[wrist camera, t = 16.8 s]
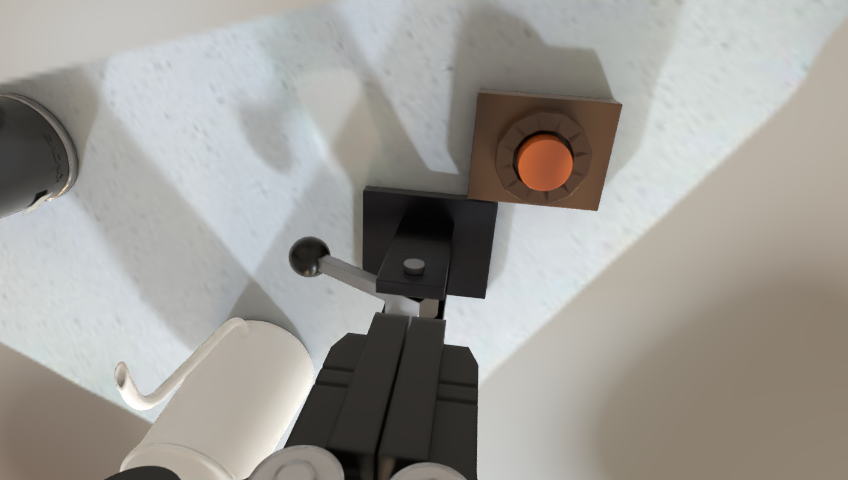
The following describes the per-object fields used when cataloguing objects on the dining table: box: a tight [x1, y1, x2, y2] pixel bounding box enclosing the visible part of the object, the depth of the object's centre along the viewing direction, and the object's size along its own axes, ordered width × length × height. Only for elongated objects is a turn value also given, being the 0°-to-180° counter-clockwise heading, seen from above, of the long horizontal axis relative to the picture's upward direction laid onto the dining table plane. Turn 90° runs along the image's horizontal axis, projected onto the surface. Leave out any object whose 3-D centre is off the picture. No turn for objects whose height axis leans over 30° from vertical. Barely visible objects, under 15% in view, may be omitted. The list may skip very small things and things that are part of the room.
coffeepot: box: [114, 317, 313, 480], centre depth 40 cm, size 11×25×19 cm, turn 1°
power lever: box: [289, 237, 439, 323], centre depth 35 cm, size 13×3×3 cm, turn 87°
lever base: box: [363, 186, 498, 320], centre depth 36 cm, size 11×9×12 cm
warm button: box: [517, 134, 573, 191], centre depth 33 cm, size 4×4×2 cm
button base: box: [467, 89, 622, 211], centre depth 35 cm, size 10×8×4 cm
